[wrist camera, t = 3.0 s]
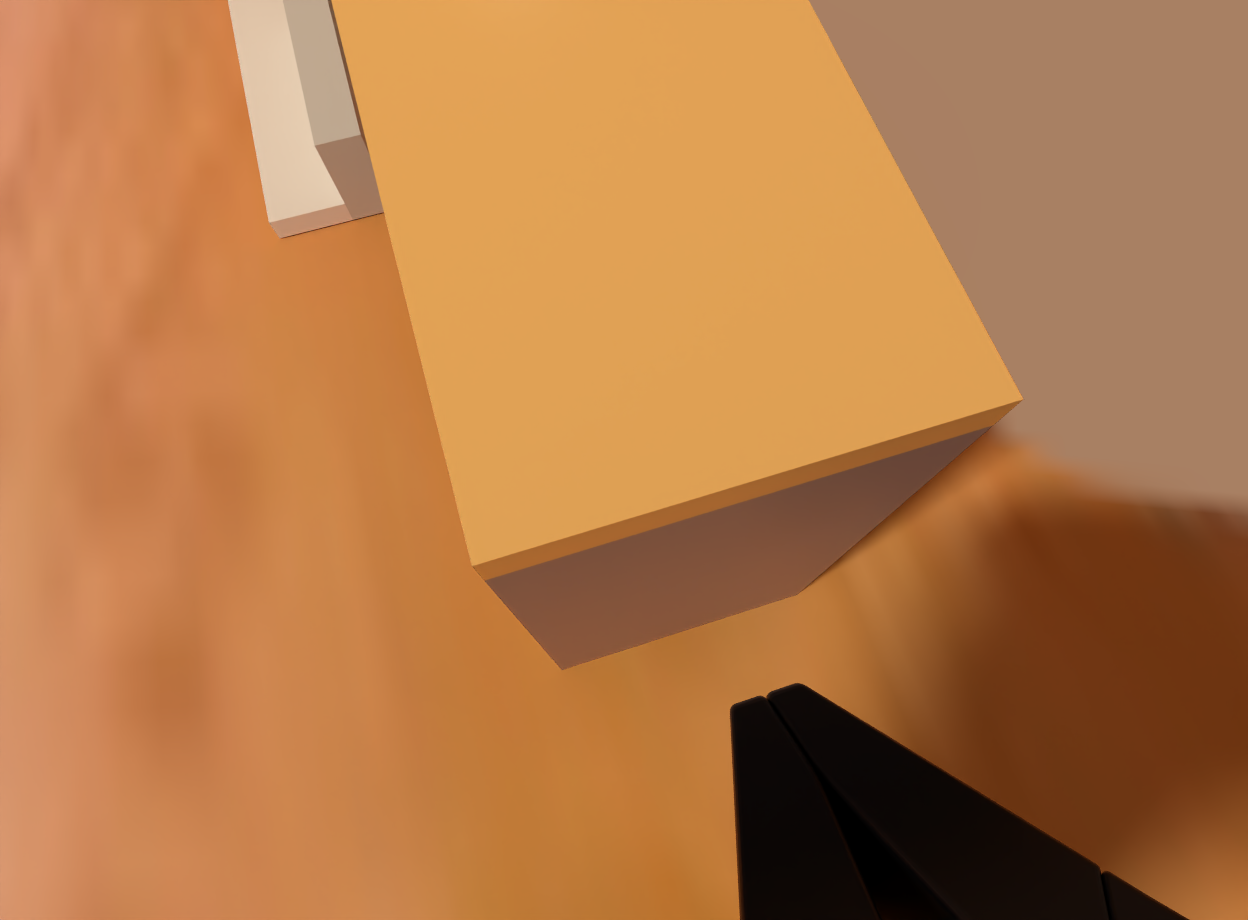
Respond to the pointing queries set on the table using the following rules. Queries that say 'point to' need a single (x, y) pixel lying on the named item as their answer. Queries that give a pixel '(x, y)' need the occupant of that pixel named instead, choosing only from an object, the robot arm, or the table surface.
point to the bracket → (303, 115)
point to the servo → (660, 300)
